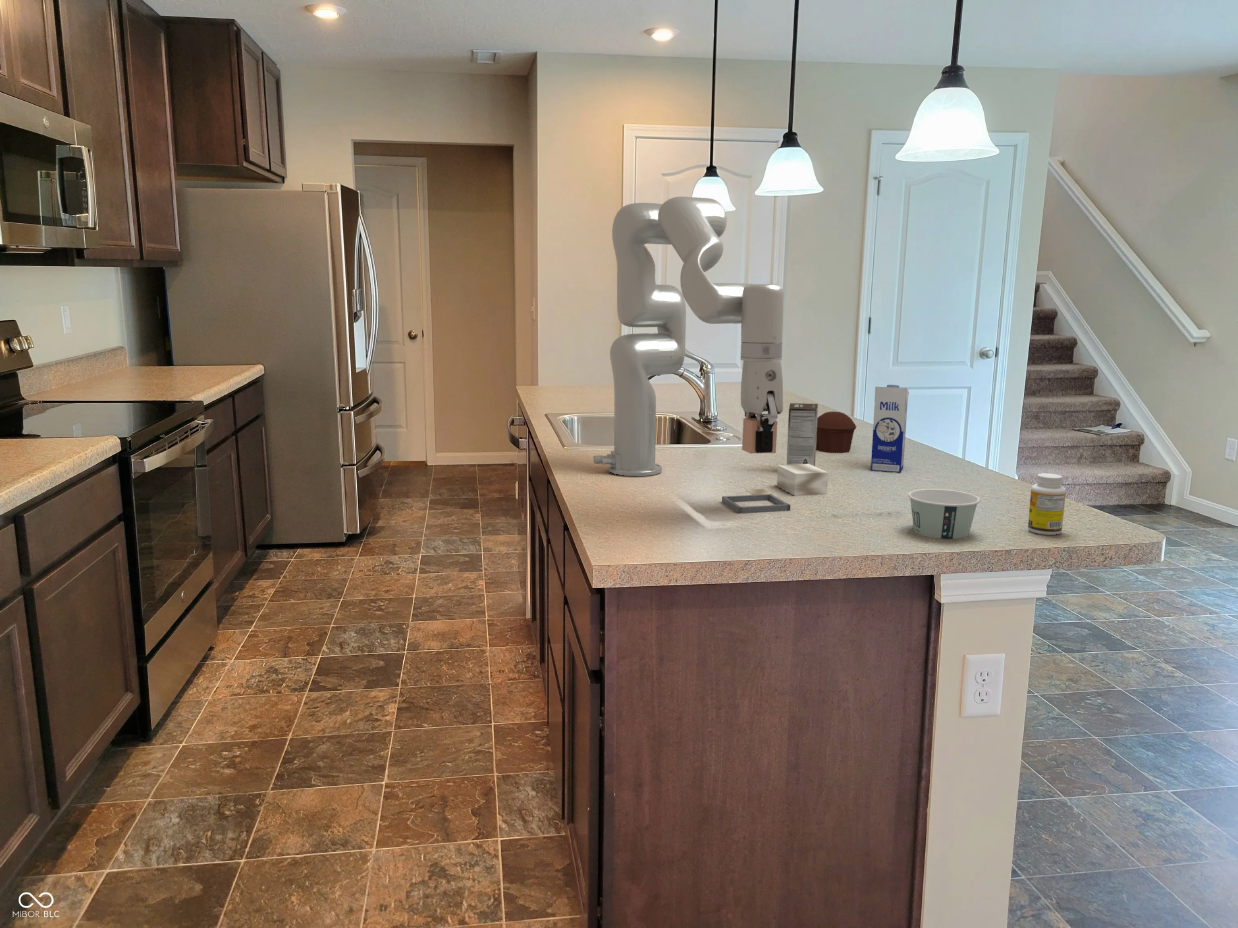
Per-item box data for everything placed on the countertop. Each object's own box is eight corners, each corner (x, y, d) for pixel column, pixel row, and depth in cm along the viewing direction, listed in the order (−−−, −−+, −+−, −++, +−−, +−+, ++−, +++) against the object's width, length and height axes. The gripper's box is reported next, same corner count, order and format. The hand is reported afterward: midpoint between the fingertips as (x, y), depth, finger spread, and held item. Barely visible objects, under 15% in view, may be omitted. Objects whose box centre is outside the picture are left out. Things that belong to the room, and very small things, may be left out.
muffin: (859, 454, 233) (861, 416, 231) (816, 454, 233) (818, 415, 231) (848, 446, 245) (850, 409, 243) (807, 446, 245) (809, 409, 243)
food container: (989, 540, 155) (993, 503, 154) (921, 542, 154) (924, 504, 153) (958, 522, 167) (961, 488, 166) (895, 523, 166) (897, 488, 165)
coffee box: (786, 470, 212) (789, 402, 209) (814, 472, 211) (817, 403, 208) (785, 478, 203) (788, 407, 200) (814, 480, 202) (818, 408, 199)
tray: (738, 519, 168) (739, 507, 167) (721, 508, 177) (722, 496, 176) (789, 516, 170) (790, 504, 170) (770, 505, 179) (771, 493, 178)
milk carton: (869, 470, 213) (874, 385, 209) (873, 465, 219) (878, 382, 215) (901, 473, 210) (907, 387, 206) (904, 467, 216) (909, 384, 212)
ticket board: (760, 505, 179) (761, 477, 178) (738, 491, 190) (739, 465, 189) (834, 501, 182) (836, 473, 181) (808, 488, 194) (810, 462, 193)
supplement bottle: (1032, 525, 165) (1037, 470, 163) (1065, 531, 161) (1071, 475, 159) (1023, 532, 160) (1028, 475, 158) (1056, 537, 157) (1062, 480, 155)
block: (750, 453, 168) (752, 421, 167) (742, 449, 172) (743, 418, 171) (775, 453, 169) (777, 421, 168) (766, 449, 173) (768, 418, 172)
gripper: (799, 354, 160) (795, 456, 163) (762, 349, 176) (760, 442, 180) (759, 355, 158) (756, 458, 162) (726, 350, 175) (724, 443, 178)
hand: (758, 448), depth 171 cm, fingers closed on block, 4 cm apart
